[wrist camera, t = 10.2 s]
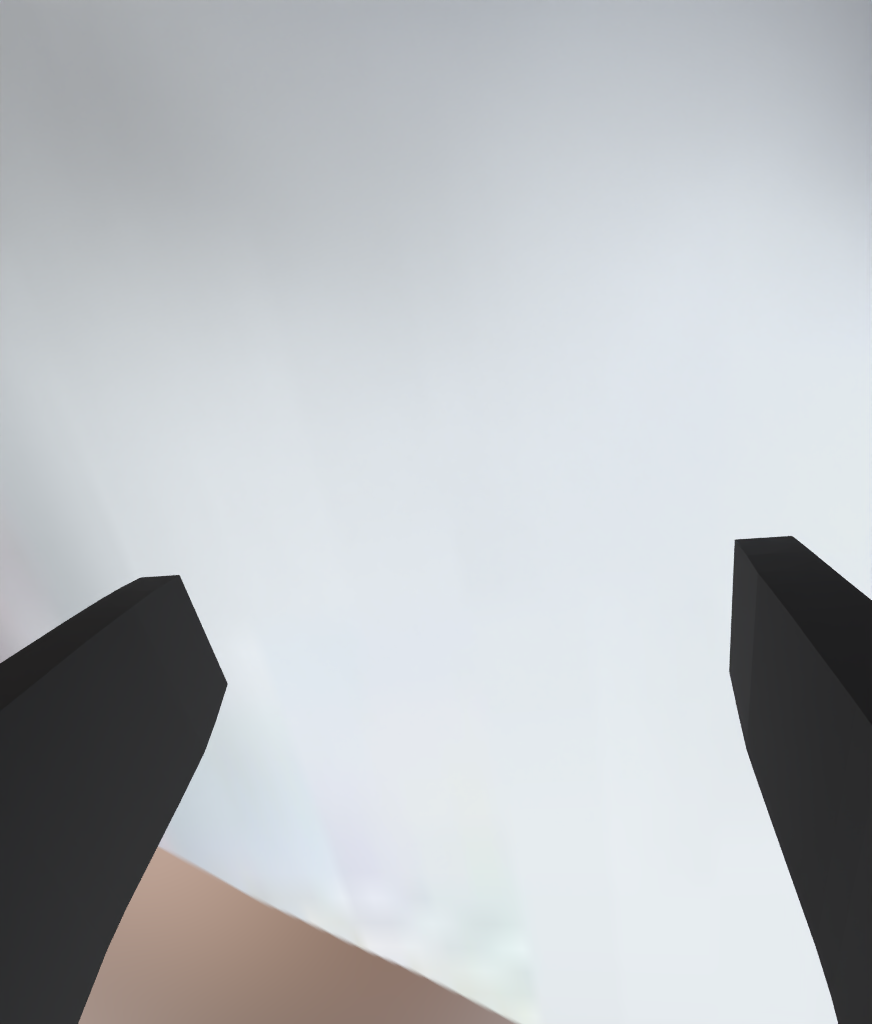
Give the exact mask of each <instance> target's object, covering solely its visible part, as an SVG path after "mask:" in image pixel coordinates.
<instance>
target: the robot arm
mask: <svg viewBox="0 0 872 1024" xmlns="http://www.w3.org/2000/svg"><path fill="white" fill-rule="evenodd" d="M729 672H730V677H731V681H732V686H733V691H734V695H735V700H736V705H737V710H738V714H739V719H740V723H741V727H742V732H743V736H744V740H745V745H746V749H747V752H748V755H749V758H750V761H751V764H752V767H753V770H754V773H755V776H756V778H757V781H758V784H759V787H760V790H761V793H762V796H763V799H764V801H765V804H766V807H767V810H768V813H769V816H770V819H771V821H772V824H773V827H774V830H775V833H776V836H777V838H778V841H779V844H780V847H781V850H782V853H783V855H784V858H785V861H786V864H787V867H788V870H789V872H790V875H791V878H792V881H793V884H794V886H795V889H796V892H797V895H798V898H799V901H800V903H801V906H802V909H803V912H804V915H805V918H806V920H807V923H808V926H809V929H810V932H811V935H812V937H813V940H814V943H815V946H816V949H817V952H818V955H819V959H820V962H821V965H822V968H823V971H824V975H825V978H826V981H827V984H828V988H829V991H830V994H831V997H832V1001H833V1005H834V1009H835V1013H836V1017H837V1020H838V1024H872V600H871V599H869V598H868V597H867V596H866V595H864V594H863V593H862V592H861V591H859V590H858V589H857V588H856V587H854V586H853V585H852V584H851V583H849V582H848V581H847V580H846V579H844V578H843V577H842V576H841V575H840V574H838V573H837V572H836V571H835V570H833V569H832V568H831V567H830V566H829V565H827V564H826V563H825V562H824V561H822V560H821V559H820V558H819V557H818V556H816V555H815V554H814V553H813V552H812V551H810V550H809V549H808V548H807V547H805V546H804V545H803V544H802V543H800V542H799V541H798V540H797V539H795V538H794V537H793V536H785V537H769V538H753V539H738V540H735V548H734V572H733V595H732V619H731V643H730V667H729ZM226 687H227V681H226V679H225V677H224V675H223V672H222V670H221V668H220V666H219V663H218V661H217V659H216V657H215V654H214V652H213V650H212V648H211V645H210V643H209V641H208V638H207V636H206V634H205V632H204V629H203V627H202V625H201V623H200V620H199V618H198V616H197V614H196V611H195V609H194V607H193V605H192V602H191V600H190V598H189V596H188V593H187V591H186V589H185V587H184V584H183V582H182V580H181V577H180V575H173V576H158V577H142V578H139V579H137V580H135V581H133V582H131V583H129V584H127V585H125V586H123V587H121V588H120V589H118V590H116V591H114V592H113V593H111V594H109V595H107V596H106V597H104V598H102V599H101V600H99V601H97V602H96V603H94V604H93V605H91V606H89V607H88V608H86V609H84V610H83V611H81V612H80V613H78V614H76V615H75V616H73V617H72V618H70V619H69V620H67V621H65V622H64V623H62V624H61V625H59V626H58V627H56V628H55V629H53V630H51V631H50V632H48V633H47V634H45V635H44V636H42V637H41V638H39V639H37V640H36V641H34V642H33V643H31V644H30V645H28V646H27V647H25V648H23V649H22V650H20V651H19V652H17V653H16V654H14V655H13V656H11V657H9V658H8V659H6V660H5V661H3V662H2V663H0V1024H78V1022H79V1020H80V1017H81V1015H82V1012H83V1009H84V1007H85V1004H86V1002H87V999H88V997H89V994H90V992H91V989H92V987H93V984H94V982H95V979H96V977H97V974H98V972H99V969H100V966H101V964H102V962H103V959H104V956H105V954H106V951H107V949H108V947H109V945H110V942H111V940H112V938H113V936H114V934H115V932H116V929H117V927H118V925H119V923H120V921H121V919H122V916H123V914H124V912H125V910H126V907H127V906H128V904H129V902H130V900H131V898H132V896H133V894H134V892H135V890H136V888H137V886H138V884H139V882H140V880H141V878H142V876H143V874H144V872H145V870H146V868H147V866H148V864H149V862H150V860H151V859H152V857H153V854H154V853H155V851H156V849H157V847H158V845H159V843H160V841H161V839H162V837H163V835H164V833H165V831H166V829H167V827H168V825H169V823H170V821H171V819H172V817H173V815H174V813H175V811H176V809H177V807H178V805H179V803H180V801H181V799H182V797H183V795H184V793H185V791H186V789H187V787H188V785H189V783H190V781H191V779H192V777H193V775H194V773H195V771H196V769H197V767H198V765H199V762H200V760H201V758H202V756H203V754H204V752H205V749H206V747H207V744H208V741H209V738H210V736H211V733H212V730H213V727H214V725H215V722H216V719H217V716H218V713H219V710H220V706H221V703H222V700H223V697H224V694H225V691H226Z"/></svg>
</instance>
